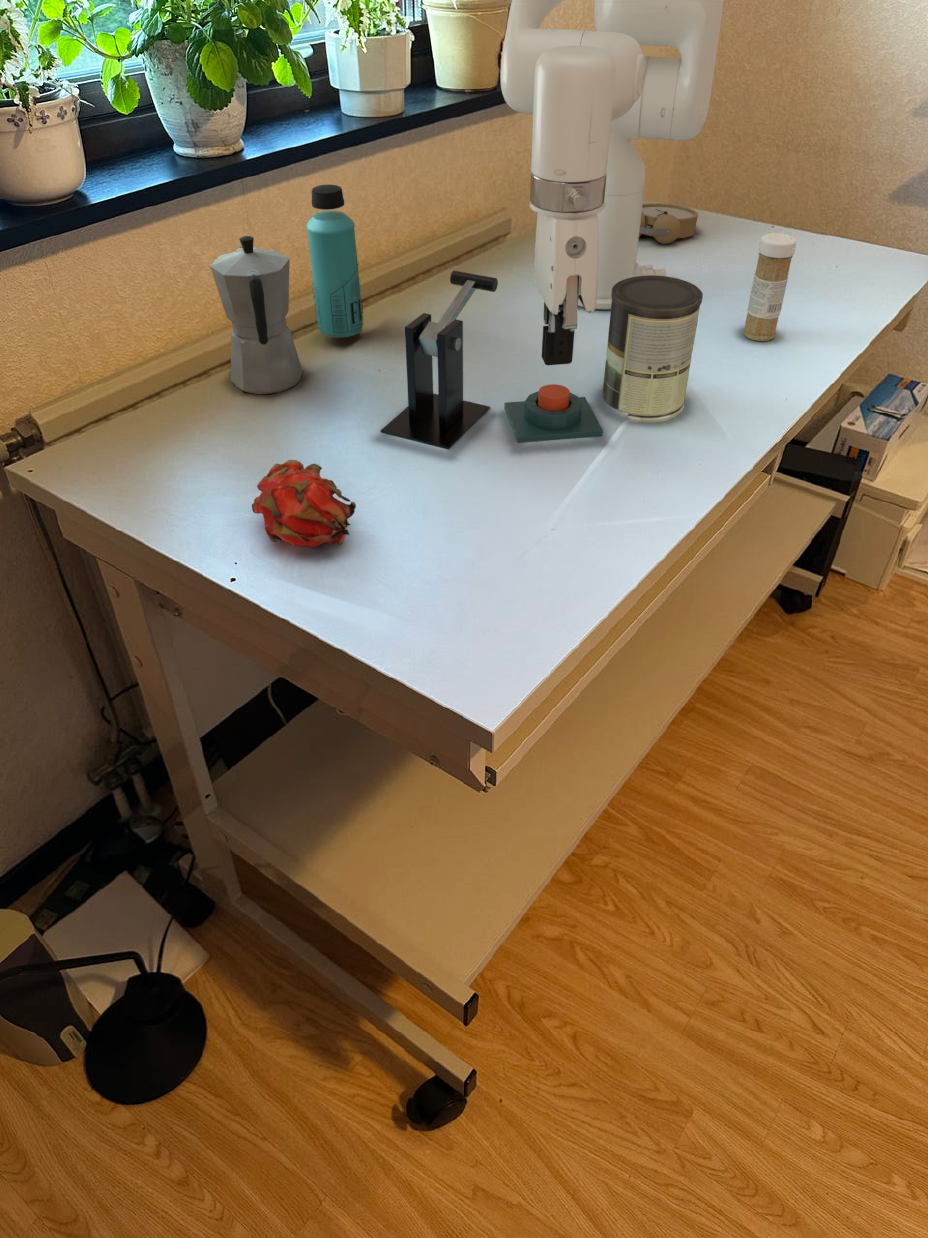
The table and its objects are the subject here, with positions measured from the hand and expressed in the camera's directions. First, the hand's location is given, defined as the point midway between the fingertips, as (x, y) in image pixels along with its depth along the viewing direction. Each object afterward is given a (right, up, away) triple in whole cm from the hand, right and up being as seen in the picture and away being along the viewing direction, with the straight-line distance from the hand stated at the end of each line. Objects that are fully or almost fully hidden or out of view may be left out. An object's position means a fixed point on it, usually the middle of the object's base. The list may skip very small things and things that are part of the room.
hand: (556, 360), depth 106 cm
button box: (0, -7, +5) cm, 8 cm away
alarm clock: (+23, +38, +57) cm, 73 cm away
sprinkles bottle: (+31, +10, +25) cm, 41 cm away
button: (0, -4, +3) cm, 5 cm away
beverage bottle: (-28, +10, +25) cm, 38 cm away
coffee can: (+12, -3, +10) cm, 16 cm away
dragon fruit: (-26, -21, -12) cm, 36 cm away
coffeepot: (-36, +1, +15) cm, 39 cm away
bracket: (-14, -6, +6) cm, 16 cm away
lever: (-12, +5, +2) cm, 13 cm away
